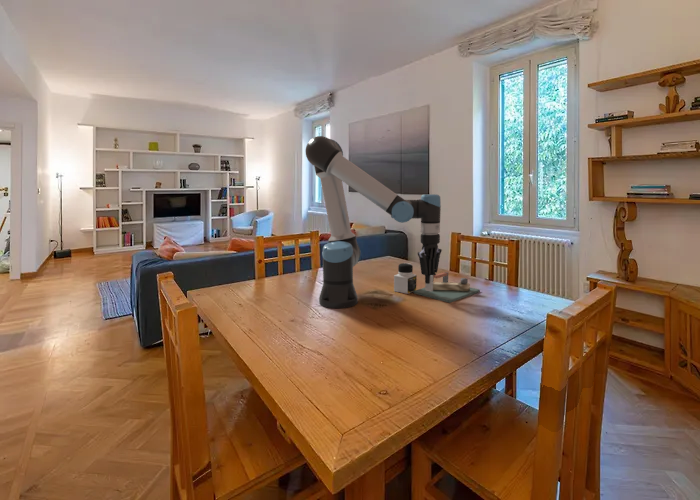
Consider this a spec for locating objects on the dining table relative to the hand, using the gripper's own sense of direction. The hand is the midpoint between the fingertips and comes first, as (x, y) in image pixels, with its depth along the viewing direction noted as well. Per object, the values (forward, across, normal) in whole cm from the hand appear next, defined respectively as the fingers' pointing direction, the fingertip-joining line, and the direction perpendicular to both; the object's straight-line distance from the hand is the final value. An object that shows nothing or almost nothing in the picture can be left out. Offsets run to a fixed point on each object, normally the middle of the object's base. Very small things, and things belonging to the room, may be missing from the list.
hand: (429, 290), depth 156 cm
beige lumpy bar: (+1, +11, -1) cm, 11 cm away
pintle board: (+3, +10, -1) cm, 11 cm away
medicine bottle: (+3, 0, +12) cm, 13 cm away
